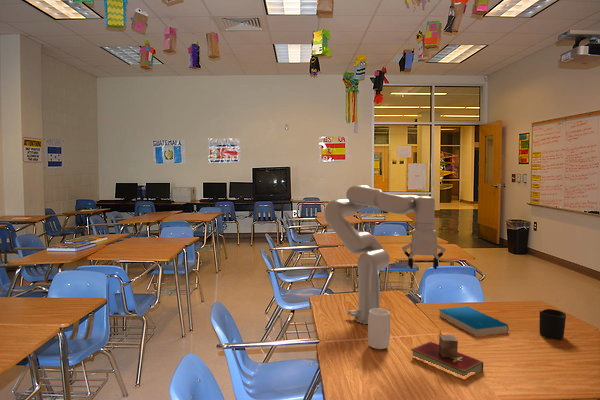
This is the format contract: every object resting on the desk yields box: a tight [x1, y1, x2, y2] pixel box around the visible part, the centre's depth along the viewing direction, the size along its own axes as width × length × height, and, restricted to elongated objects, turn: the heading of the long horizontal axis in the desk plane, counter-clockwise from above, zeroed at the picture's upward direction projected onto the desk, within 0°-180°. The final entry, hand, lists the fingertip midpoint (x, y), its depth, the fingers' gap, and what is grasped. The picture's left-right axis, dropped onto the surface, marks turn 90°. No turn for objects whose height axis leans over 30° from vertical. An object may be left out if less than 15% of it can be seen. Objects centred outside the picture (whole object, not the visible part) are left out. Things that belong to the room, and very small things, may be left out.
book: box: [438, 306, 510, 337], centre depth 186 cm, size 17×4×25 cm
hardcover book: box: [410, 341, 484, 376], centre depth 146 cm, size 12×21×4 cm, turn 38°
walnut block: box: [438, 334, 459, 358], centre depth 146 cm, size 5×5×6 cm
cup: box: [367, 307, 391, 350], centre depth 159 cm, size 8×8×14 cm
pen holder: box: [538, 308, 567, 341], centre depth 173 cm, size 9×9×10 cm
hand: (422, 268), depth 170 cm, fingers open, 9 cm apart
